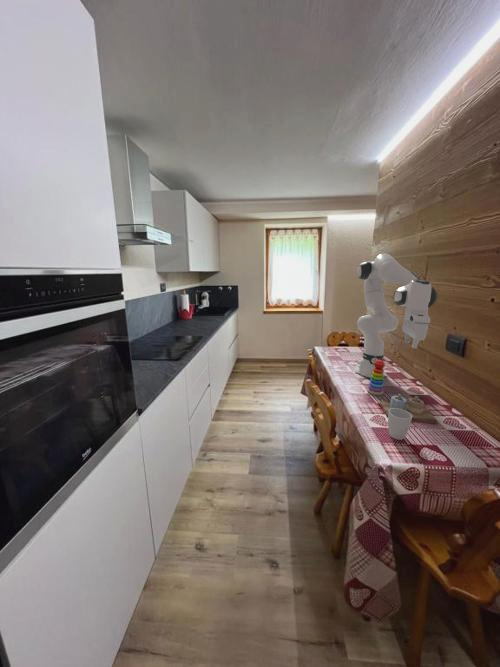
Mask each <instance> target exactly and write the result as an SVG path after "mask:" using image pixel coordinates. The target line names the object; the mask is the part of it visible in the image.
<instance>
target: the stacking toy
mask: <svg viewBox="0 0 500 667" xmlns="http://www.w3.org/2000/svg"><path fill="white" fill-rule="evenodd" d="M384 363H385V362H384V360H383V361H382V360H376V361H375V362H374V366H375V367H376V368H374V369H373V372H372V375H371V378H369V379H370V381H369V382H368V385H367V388H366V390H367V391H366V392H368V393H369V394H371V395H374V396H382V395H384V388H383V387H384V377H383V371H384V372H385V370H383V369H382V368H383V367H384V365H385V366H386V363H385V364H384Z"/></svg>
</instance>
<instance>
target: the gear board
mask: <svg viewBox="0 0 500 667" xmlns="http://www.w3.org/2000/svg"><path fill="white" fill-rule="evenodd" d="M397 396H398V398H397V400H401V397H402V394H401V393H398V394H397ZM390 402H391V400H383V399H380V401H379V404H380V405H381V406H380V407H381V408H382V410H383V411H384V413H385V415H386V418H388V414H389V409H391V407H390ZM405 411H407V412H409V413H411V414H412V420H411V421H414V422H420V423H421V422H423V423H429V424H436V425H437V423H438V420H437V418H436V417H435V416H434V415H433V413H432V412H431V411H430V410H429V409H428V407H427V406H426V405H425V402H424V400H422V399H420V398H419V396H418V395H415V396H414V397H408V398H407V403H406V409H405Z"/></svg>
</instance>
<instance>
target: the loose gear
mask: <svg viewBox="0 0 500 667" xmlns="http://www.w3.org/2000/svg"><path fill="white" fill-rule="evenodd" d="M397 398H398V395H392V396H391V397H390V401H391V402H390V407H391V408H398V409H402V410H405V409H406V403H407V402H408V399H406V397H403V396H401V400H397Z"/></svg>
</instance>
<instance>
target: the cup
mask: <svg viewBox="0 0 500 667" xmlns="http://www.w3.org/2000/svg"><path fill="white" fill-rule="evenodd" d="M412 421H413V420H412V414H411V413H409V412H407V411H405V410H402V409H398V408H391V409H389V414H388V417H387V429H388V433H389V434H388V435H389V436H390V437H391V438H393V439H395V440H399V441H403V440H404V439H405V437H406V436H407V435H408V432H409V430H410V426H411V423H412Z"/></svg>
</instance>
